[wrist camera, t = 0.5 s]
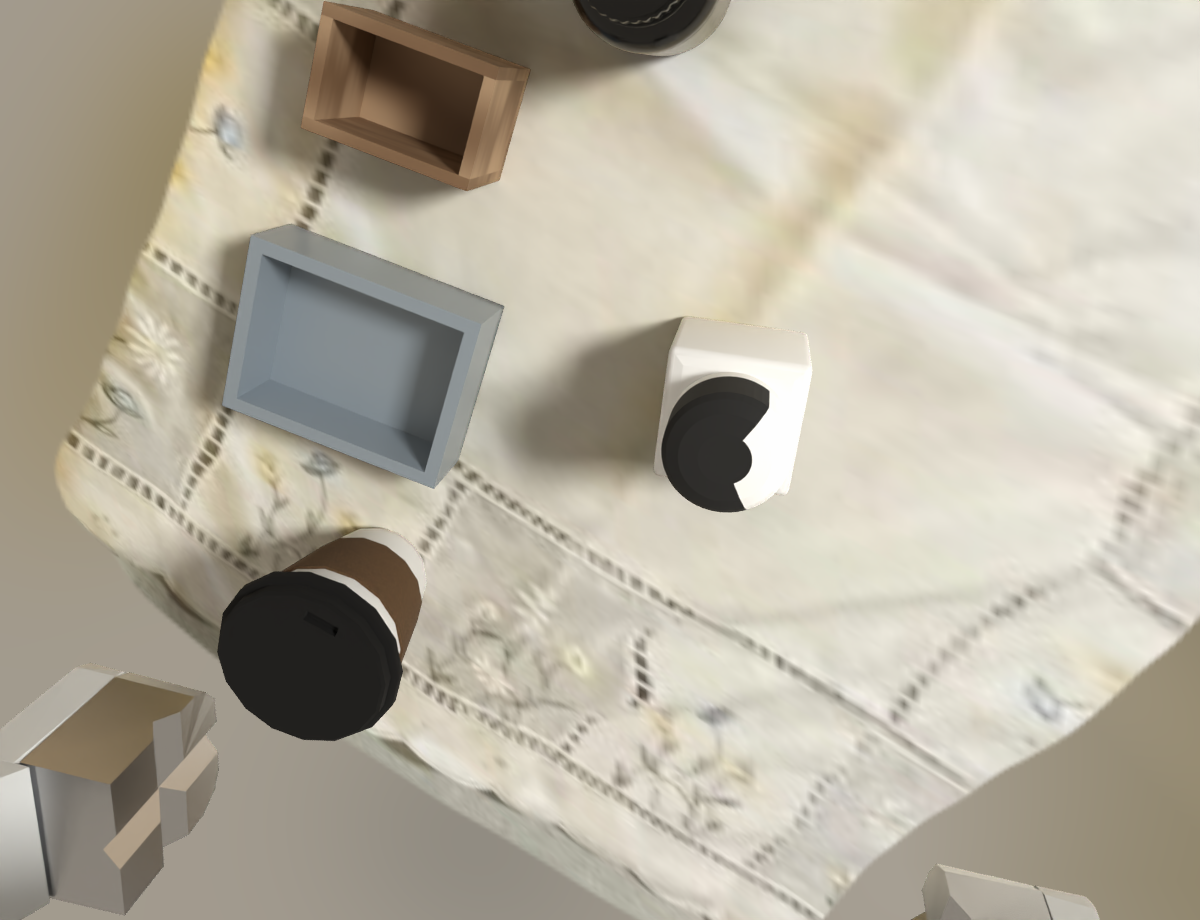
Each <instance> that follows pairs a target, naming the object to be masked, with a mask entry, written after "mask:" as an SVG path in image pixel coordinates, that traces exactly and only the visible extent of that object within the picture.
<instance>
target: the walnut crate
mask: <svg viewBox="0 0 1200 920" xmlns="http://www.w3.org/2000/svg"><path fill="white" fill-rule="evenodd" d="M529 73H530V69H528V68H526V67H523V66H520V65H518V64H515V63H512V62H510V61H507V60H504V59H502V58H499V57H496V56H494V55H491V54H488V53H486V52H483V51H480V50H478V49H475V48H472V47H470V46H467V45H464V44H462V43H459V42H456V41H454V40H451V39H449V38H446V37H443V36H441V35H438V34H435V33H433V32H430V31H427V30H425V29H422V28H419V27H417V26H414V25H411V24H409V23H406V22H403V21H401V20H398V19H395V18H393V17H390V16H387V15H385V14H382V13H379V12H377V11H374V10H369V9H364V8H358V7H353V6H348V5H343V4H337V3H332V2H327V1H324V3H323V8H322V14H321V19H320V25H319V30H318V36H317V41H316V47H315V52H314V58H313V63H312V69H311V74H310V80H309V85H308V91H307V96H306V102H305V107H304V113H303V118H302V124H301V128H303V129H305V130H308V131H310V132H313V133H316V134H318V135H321V136H324V137H326V138H329V139H331V140H334V141H337V142H339V143H342V144H344V145H347V146H350V147H352V148H355V149H357V150H360V151H363V152H365V153H368V154H371V155H373V156H376V157H378V158H381V159H384V160H386V161H389V162H391V163H394V164H397V165H399V166H402V167H405V168H407V169H410V170H412V171H415V172H418V173H420V174H423V175H425V176H428V177H431V178H433V179H436V180H438V181H441V182H444V183H446V184H449V185H452V186H454V187H457V188H459V189H462V190H465V191H469V190H472V189H475V188H478V187H481V186H484V185H487V184H490V183H493V182H496V181H499V180H500V177H501V173H502V170H503V166H504V162H505V159H506V155H507V152H508V148H509V144H510V141H511V137H512V134H513V130H514V127H515V123H516V119H517V116H518V112H519V109H520V105H521V102H522V98H523V94H524V91H525V87H526V84H527V80H528V77H529Z"/></svg>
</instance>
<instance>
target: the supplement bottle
mask: <svg viewBox="0 0 1200 920" xmlns="http://www.w3.org/2000/svg"><path fill="white" fill-rule="evenodd" d="M730 1H731V0H573V3H574V5H575V7H576V9H577V12H578V13H579V15H580V17H581V18H582V20H583V21H584V22H585V24H586V25H587V26H588V27H589V29H590V30H591V31H592V32H593V33H594V34H595V35H597V36H598V37H599V38H600V39H602V40H603V41H604V42H606V43H608V44H609V45H611V46H613V47H615V48H617V49H620V50H623V51H626V52H630V53H636V54H644V55H652V56H671V55H677V54H681V53H684V52H686V51H689V50H691V49H693V48H695V47H696V46H698V45H699V44H701V43H702V42H704V41H705V40H706V39H707V38H708V37H709V36H710V35H711V34H712V33H713V32H714V31H715V30H716V28H717V27H718V26H719V24H720V23H721V21H722V20H723V18H724V16H725V14H726V12H727V9H728V7H729V4H730Z"/></svg>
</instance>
